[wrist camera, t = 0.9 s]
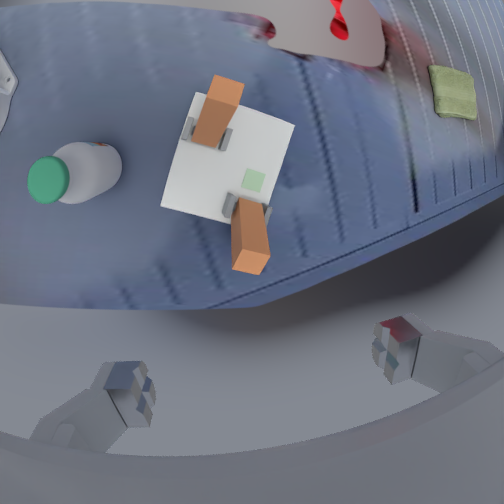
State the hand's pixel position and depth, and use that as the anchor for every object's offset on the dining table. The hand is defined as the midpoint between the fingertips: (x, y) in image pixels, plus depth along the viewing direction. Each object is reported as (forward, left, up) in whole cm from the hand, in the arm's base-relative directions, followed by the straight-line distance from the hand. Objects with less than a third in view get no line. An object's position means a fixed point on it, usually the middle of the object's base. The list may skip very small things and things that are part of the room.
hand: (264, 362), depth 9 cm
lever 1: (-8, +5, -35) cm, 36 cm away
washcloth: (0, +62, -39) cm, 73 cm away
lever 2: (+5, +5, -35) cm, 36 cm away
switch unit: (-3, +6, -39) cm, 39 cm away
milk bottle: (-12, -12, -39) cm, 42 cm away
